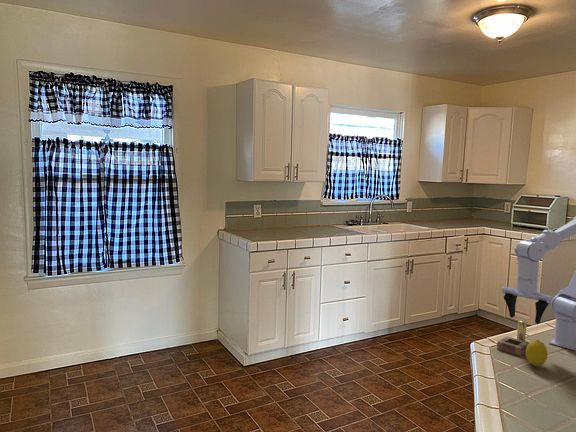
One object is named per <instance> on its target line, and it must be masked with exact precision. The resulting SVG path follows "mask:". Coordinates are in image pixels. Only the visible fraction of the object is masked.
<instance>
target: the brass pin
mask: <svg viewBox="0 0 576 432" xmlns="http://www.w3.org/2000/svg"><path fill="white" fill-rule="evenodd" d="M527 325H528V323H527V321H526V320H524V319H520V320H517V329H516V330H517V333H516V339H518V340H522V341H525V342H526V337H527Z"/></svg>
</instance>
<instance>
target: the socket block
mask: <svg viewBox="0 0 576 432" xmlns="http://www.w3.org/2000/svg"><path fill="white" fill-rule="evenodd" d="M529 343H530V342H529V341H526V340H525V341H522V340H518V339H517V338H514V337H512V336H505V337H503V338H501V339H499V340H497V345H496V350H499V351H503V352H506V353H509V354H512V355H515V356H519V357H520V356H522V355H524V354H526V348H527V345H528V344H529Z"/></svg>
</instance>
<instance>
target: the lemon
mask: <svg viewBox="0 0 576 432" xmlns="http://www.w3.org/2000/svg"><path fill="white" fill-rule="evenodd" d="M525 357H526V360H527V361H528V362H529V363H530V364H531V365H533V367H535V368H537V367H538V366H543V365H544V364H545V363H546V362H547V359H548V349H547V347H546V345H545V344H544V342H542V341H540V340H539V339H536V340H532V341H530V342H529V344H528V345H527V348H526V352H525Z"/></svg>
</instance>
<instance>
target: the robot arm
mask: <svg viewBox="0 0 576 432" xmlns="http://www.w3.org/2000/svg"><path fill="white" fill-rule="evenodd" d="M575 235H576V216H574V217H573V219H572V220H570V221H569V222H567V223H565V224H564V225H562V226H560V227H558V228H557V229H555V230H551V229H544V230H542V233H540V234H538V235H536V236H532V237H530V239H528V240H526V239H524V240H523V239H522V240H521V241H519V242H518V243H517V244H516V246H515V248H514V253H515V255H516V260H517V262H518V263H517V279H516V288H515V287H508V286H507V287H506V286H502V287H501V294H503V300H504V301H505V303H506V306H507V308H508V313H509V318H514V317H515V315H516V306H517V305H516V304H517V298H518V297H520V298H525V299H530V300H535V302H534V303H535V305H534V306H535V318H534V319H535V324H536V325H538V324H540V323H541V320H542V317H543V316H544V312H545V311H546V309H547V307H548V306H549V305H550V308H551V310H552V311H553V313H554V316H555V324H554V338H553V339H551V340H550V341H549V342H548V343H549V344H551V345H554V346H558V347H561V348H565V349H568V350H573V351H576V269H575V271H574V273H573V275H572V277H571V279H570V282H569V283H568V285H567V287H564V288H562V289H560V290H559V291H558V293H557V294H556V295H555V296H554V297H553V296H552V295H548V294H544V293H541V292H538V281H539V266H540V261H541V260H542V259H543V258H544V256H545V255H546V254H547V252H549V251H551V250H553V249H555V248H557V247H559V246H560V245H561V244H562V241H563V240H565V239H567V238H570V237H573V236H575Z"/></svg>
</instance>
